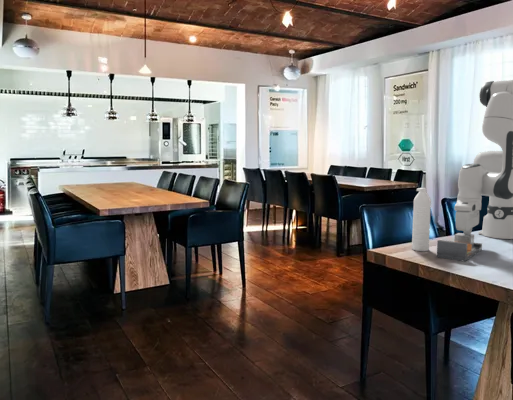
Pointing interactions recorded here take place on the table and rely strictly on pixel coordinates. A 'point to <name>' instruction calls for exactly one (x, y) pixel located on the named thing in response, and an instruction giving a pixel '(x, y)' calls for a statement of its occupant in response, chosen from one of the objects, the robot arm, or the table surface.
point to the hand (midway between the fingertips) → (467, 238)
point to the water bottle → (421, 221)
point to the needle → (469, 246)
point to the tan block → (464, 238)
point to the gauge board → (456, 250)
